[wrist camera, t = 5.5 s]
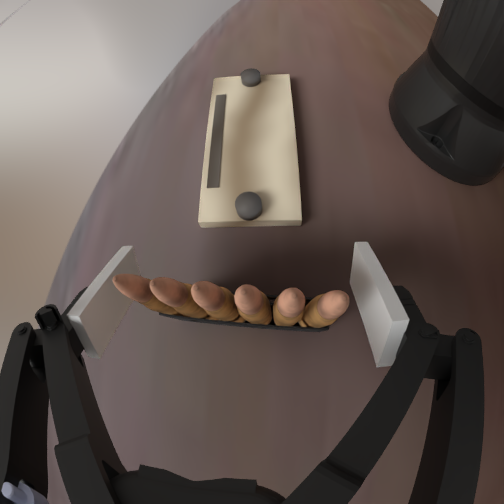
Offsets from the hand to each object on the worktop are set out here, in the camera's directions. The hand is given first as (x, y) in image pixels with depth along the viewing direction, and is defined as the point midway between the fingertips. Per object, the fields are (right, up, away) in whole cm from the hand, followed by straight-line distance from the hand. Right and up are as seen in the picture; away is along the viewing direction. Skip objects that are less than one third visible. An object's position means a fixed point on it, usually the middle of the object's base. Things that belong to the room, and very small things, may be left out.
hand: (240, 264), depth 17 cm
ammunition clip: (0, -4, +5) cm, 7 cm away
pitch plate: (+1, +11, +9) cm, 14 cm away
